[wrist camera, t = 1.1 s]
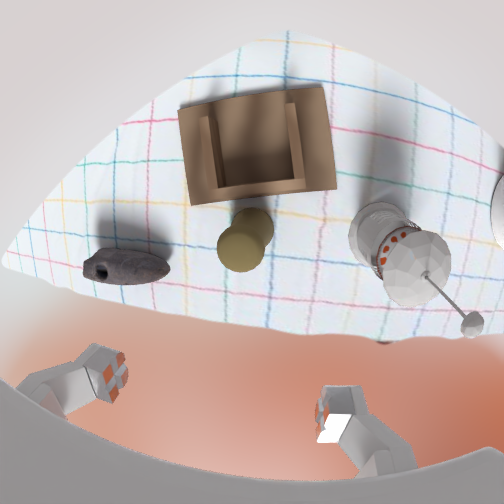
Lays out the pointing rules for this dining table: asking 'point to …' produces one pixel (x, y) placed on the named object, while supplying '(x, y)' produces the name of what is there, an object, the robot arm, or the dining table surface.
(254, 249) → the cork
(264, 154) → the u rest
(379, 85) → the dining table surface
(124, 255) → the perforated stone tool
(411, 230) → the french press
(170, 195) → the dining table surface
